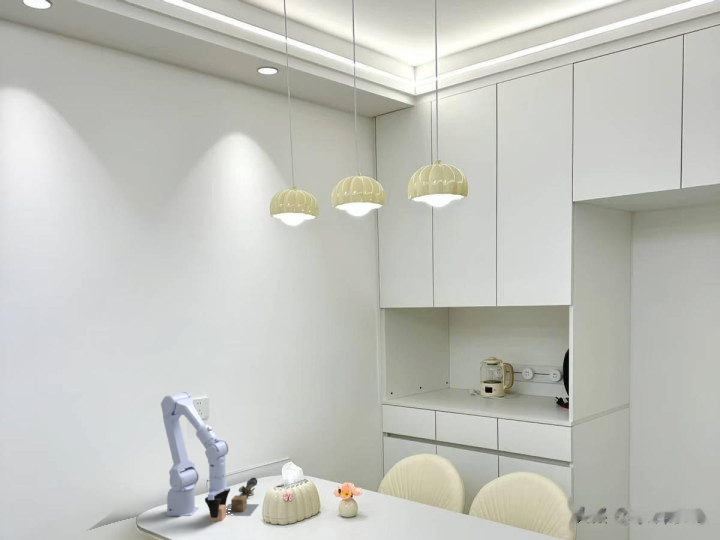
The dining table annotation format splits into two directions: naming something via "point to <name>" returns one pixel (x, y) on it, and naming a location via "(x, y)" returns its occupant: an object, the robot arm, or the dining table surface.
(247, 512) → the mat
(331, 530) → the dining table surface
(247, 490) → the eagle figurine
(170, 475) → the robot arm
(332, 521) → the dining table surface
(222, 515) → the terracotta block
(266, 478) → the dining table surface
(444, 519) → the dining table surface
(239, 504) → the walnut block
